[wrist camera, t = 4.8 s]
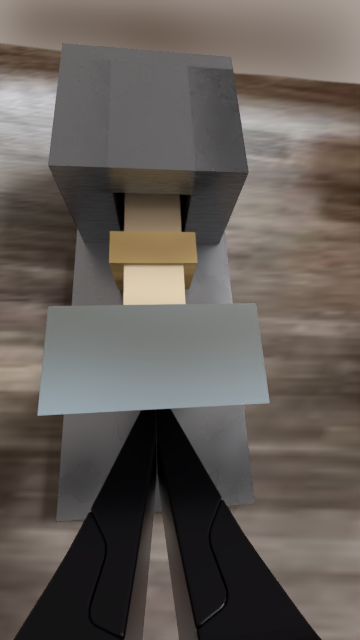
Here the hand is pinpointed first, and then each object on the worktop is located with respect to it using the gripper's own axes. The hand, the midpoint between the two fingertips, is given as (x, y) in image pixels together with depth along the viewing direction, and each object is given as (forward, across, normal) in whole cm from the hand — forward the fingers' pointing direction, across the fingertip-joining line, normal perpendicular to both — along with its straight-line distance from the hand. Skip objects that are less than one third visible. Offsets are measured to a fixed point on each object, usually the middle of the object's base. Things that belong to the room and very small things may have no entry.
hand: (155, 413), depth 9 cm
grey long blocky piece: (+10, 0, 0) cm, 10 cm away
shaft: (+10, 0, -1) cm, 10 cm away
